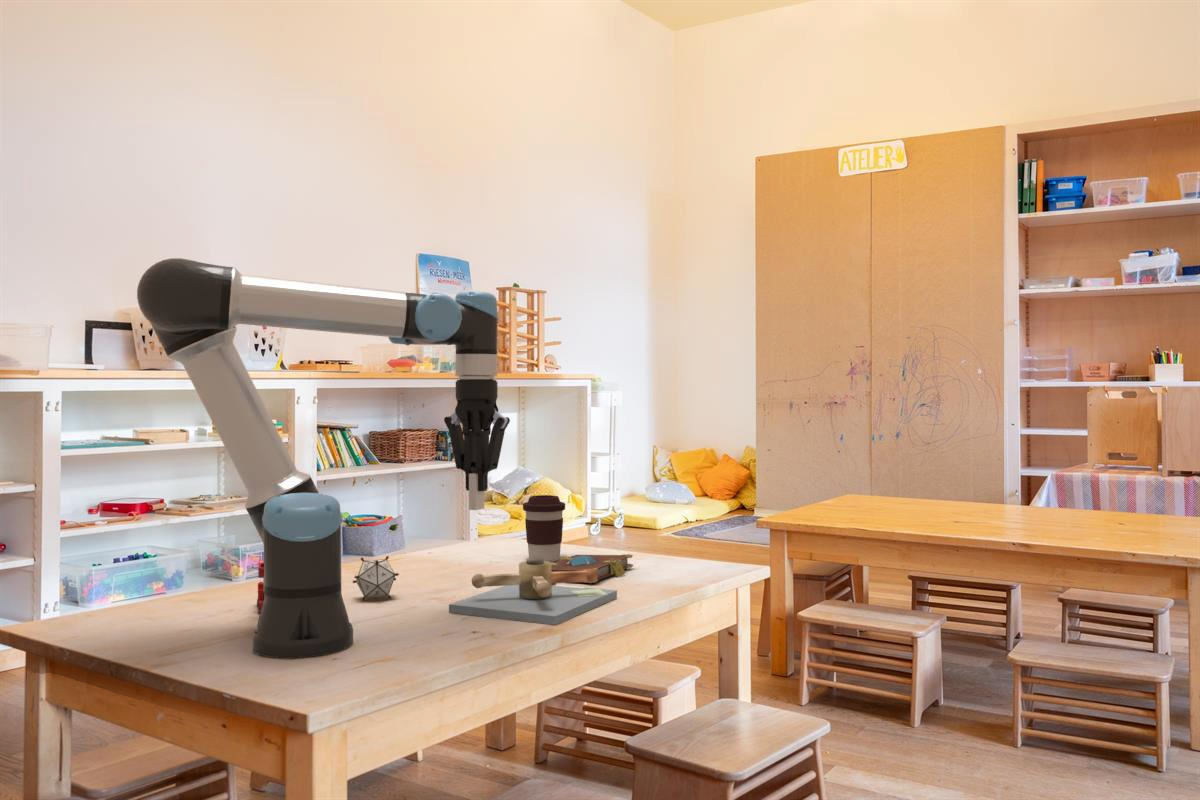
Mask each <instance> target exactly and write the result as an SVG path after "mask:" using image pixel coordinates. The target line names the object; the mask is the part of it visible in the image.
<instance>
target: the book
mask: <svg viewBox="0 0 1200 800" xmlns="http://www.w3.org/2000/svg"><path fill="white" fill-rule="evenodd" d="M633 556H634V555H633V554H629V553H625V554H574V555H572V556H568V557H564V556H563V557H562V556H560V559H559V560H558V561H554V562H551V572H560V571H582V570H588V569H594V570H595V571H596V572H597V575H598V576H597V579H596V581H595V582H593V584H595V583H597V582H598V581H600V580H602V579H604V578H607V577H609V576H612V575H614V577H616V578H619V577H623V576H624V575H625V574H626V569H629V568H633V567H634V564H632V563H629V562H628V559H632V558H633ZM585 583H586V584H587V583H588V584H590V583H589V582H585Z"/></svg>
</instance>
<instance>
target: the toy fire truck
mask: <svg viewBox="0 0 1200 800" xmlns="http://www.w3.org/2000/svg"><path fill="white" fill-rule="evenodd" d="M257 565H258V571H257V575H258V579H263V581H259V582H257V599H256V606H257V613H258V614H260V613H261V609H262V606H263V603H264V561H262V562H258V564H257Z"/></svg>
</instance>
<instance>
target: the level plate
mask: <svg viewBox="0 0 1200 800" xmlns="http://www.w3.org/2000/svg"><path fill="white" fill-rule="evenodd" d="M551 584H552V596H550V597H548V598H542V599H526V598H521V597H520V596H519V585H507V586H498V587H497V588H493V589H491V590H487V591H485V592H481V593H478V594H476V595H473V596H470V597H467V598H464V599H461V600H458V601H455V602H452V603H449V604H448V613H449V614H458V615H467V616H473V617H474V616H475V617H481V618H482V617H485V618H490V619H491V618H493V619H500V620H501V619H502V620H509V621H518V622H525V623H526V622H527V623H535V624H544V625H550V626H551V625H553V626H556V625H559V624H561V623H563V622H565V621H568V620H570V619H572V618H575V617H578V616H579V615H581V614H583V613H586V612H588V611H591V610H593V609H595V608H598V607H600V606H602V605H604V604H607V603H609V602H611V601H614V600H616V599H617V598H618V590H615V589H608V588H607V589H606V588H605V589H604V588H597V587H596V588H595V587H587V586H586V587H585V586H574V585H566V584H564V585H563V584H557V583H551Z"/></svg>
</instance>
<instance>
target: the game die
mask: <svg viewBox="0 0 1200 800" xmlns="http://www.w3.org/2000/svg"><path fill="white" fill-rule="evenodd" d="M389 559H390V558H389V555H387V556H386V557H385V558H384V559H366V560H365V559H364V557H362V556H360V560H361V561H362V563H361V565H360V569H359V571H358V574H357V575H354V579H356V580H352V583H353V584H356V585H357V586H358V588H359V591H360V592H361V593H362V595H363V597H362V599H361V600H362V602H363V601H365V600H366V598H375V597H377V598H378V597H387V599H388V600H391V595H390V592H391V589H392V587H393V583H394V582H396V581H397V578H396V577H397V576H399V575H400V573H399V572H396V573H395V571H394V569H393V567H392V566H391V565H390V563H389V561H388V560H389Z"/></svg>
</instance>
